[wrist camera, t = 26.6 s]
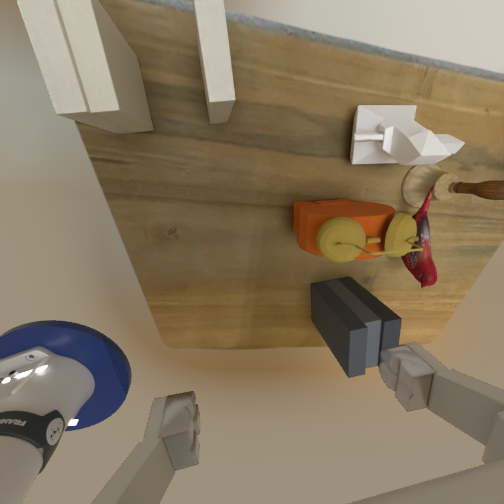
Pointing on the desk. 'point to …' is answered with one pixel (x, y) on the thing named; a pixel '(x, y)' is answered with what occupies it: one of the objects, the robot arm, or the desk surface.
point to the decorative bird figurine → (422, 260)
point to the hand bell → (444, 186)
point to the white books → (87, 65)
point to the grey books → (353, 323)
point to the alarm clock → (353, 230)
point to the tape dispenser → (396, 137)
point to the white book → (214, 58)
